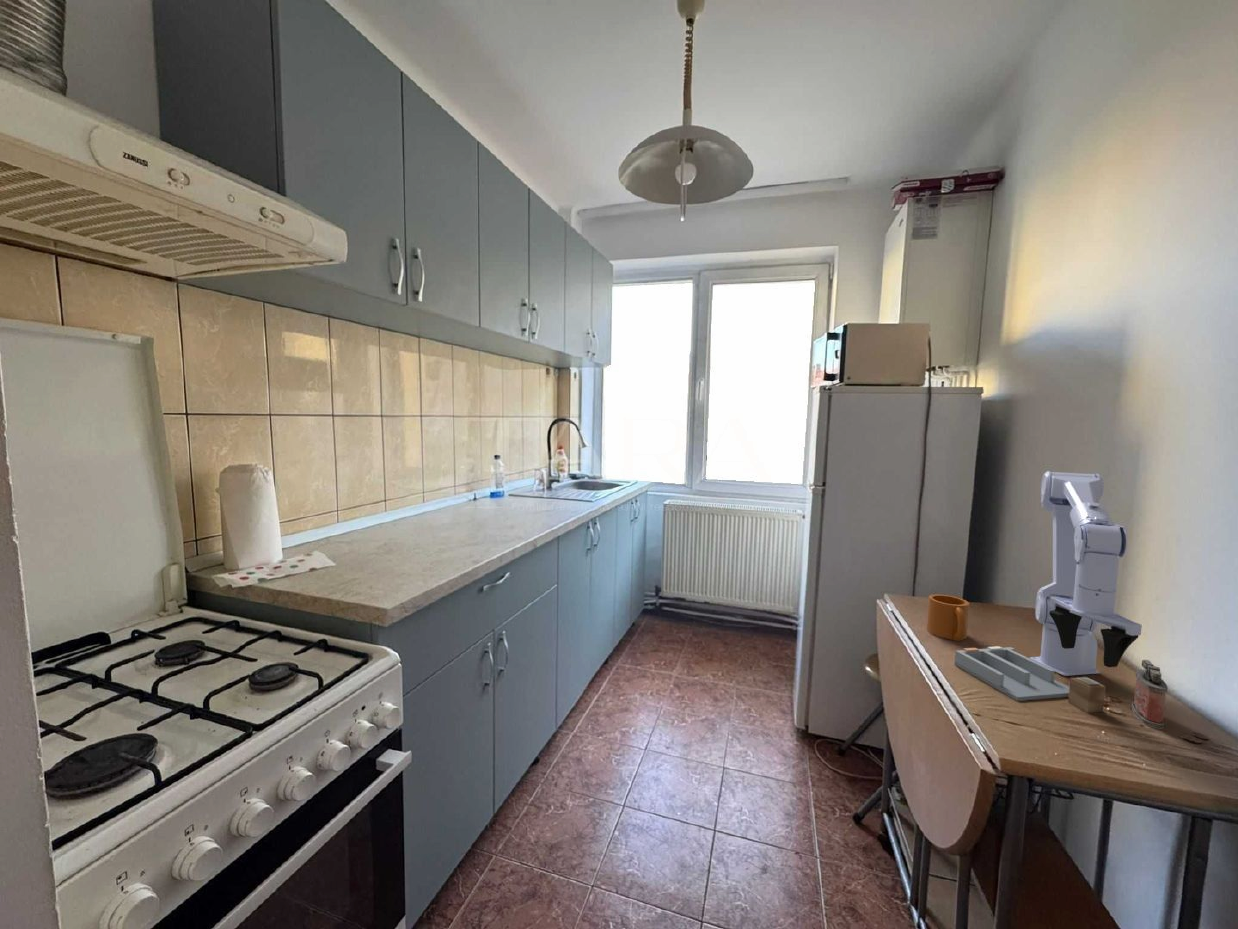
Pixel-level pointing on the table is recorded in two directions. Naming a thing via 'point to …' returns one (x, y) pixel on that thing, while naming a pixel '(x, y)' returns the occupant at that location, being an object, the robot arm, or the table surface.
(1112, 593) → the robot arm
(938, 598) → the mug
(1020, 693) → the socket board
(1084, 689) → the plug
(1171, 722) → the table surface
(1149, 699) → the lighter
